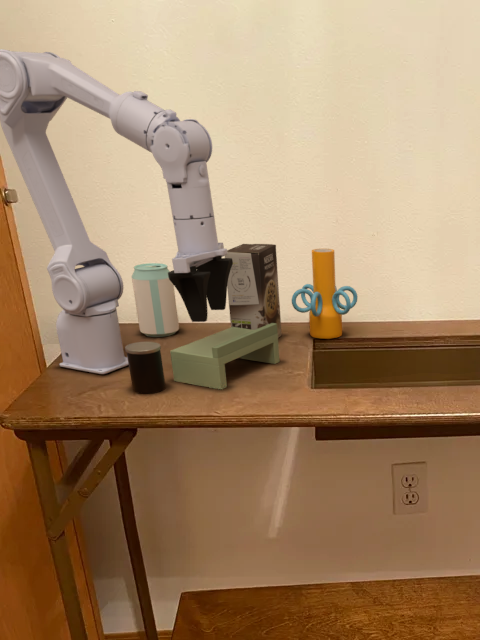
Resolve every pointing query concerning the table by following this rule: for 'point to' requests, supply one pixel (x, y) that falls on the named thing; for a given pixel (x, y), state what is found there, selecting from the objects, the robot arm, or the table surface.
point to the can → (155, 300)
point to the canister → (145, 367)
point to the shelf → (223, 354)
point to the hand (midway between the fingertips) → (209, 315)
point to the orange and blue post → (324, 297)
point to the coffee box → (253, 287)
